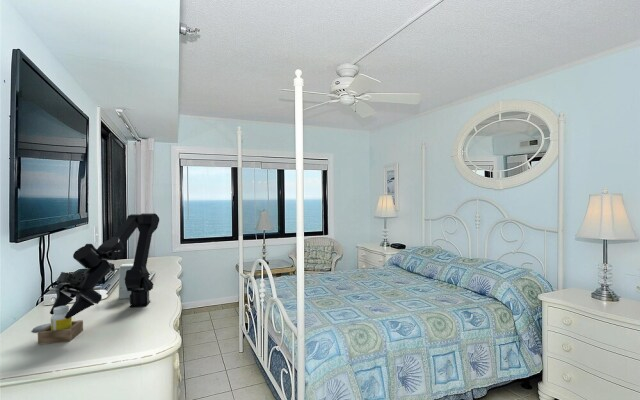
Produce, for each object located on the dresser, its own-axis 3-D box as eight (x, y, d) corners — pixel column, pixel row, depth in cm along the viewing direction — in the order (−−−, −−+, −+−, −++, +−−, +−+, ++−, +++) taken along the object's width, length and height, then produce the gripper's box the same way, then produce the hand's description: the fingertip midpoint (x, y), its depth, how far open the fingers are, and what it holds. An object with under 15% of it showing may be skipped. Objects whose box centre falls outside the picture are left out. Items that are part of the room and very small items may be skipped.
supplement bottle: (76, 333, 112) (75, 304, 111) (62, 340, 106) (61, 310, 106) (61, 333, 112) (60, 304, 112) (46, 340, 107) (45, 310, 107)
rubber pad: (62, 323, 121) (62, 322, 121) (51, 331, 114) (51, 329, 114) (40, 325, 119) (40, 324, 119) (27, 333, 113) (27, 331, 113)
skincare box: (118, 299, 149) (117, 266, 149) (122, 295, 155) (121, 263, 155) (139, 297, 152) (138, 265, 151) (142, 293, 157) (141, 262, 157)
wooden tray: (83, 330, 114) (82, 320, 114) (70, 341, 106) (69, 330, 106) (53, 332, 112) (53, 322, 112) (37, 344, 104) (37, 333, 104)
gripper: (60, 259, 117) (22, 299, 107) (91, 264, 109) (52, 308, 99) (85, 277, 124) (51, 316, 115) (115, 282, 116) (81, 325, 106)
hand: (58, 316), depth 108 cm, fingers open, 9 cm apart
